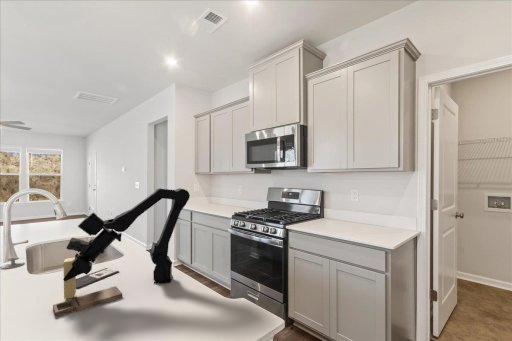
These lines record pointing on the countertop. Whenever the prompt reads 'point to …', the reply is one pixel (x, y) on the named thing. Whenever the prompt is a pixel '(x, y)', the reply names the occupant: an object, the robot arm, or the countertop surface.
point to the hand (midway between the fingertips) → (65, 278)
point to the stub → (71, 283)
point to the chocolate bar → (94, 277)
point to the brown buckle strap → (87, 301)
